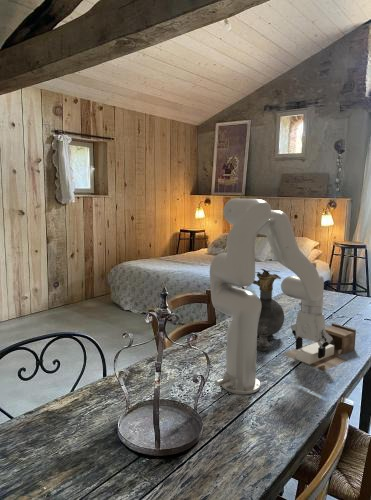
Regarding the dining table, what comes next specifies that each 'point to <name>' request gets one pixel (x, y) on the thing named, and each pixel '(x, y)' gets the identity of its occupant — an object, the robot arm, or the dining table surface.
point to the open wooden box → (341, 342)
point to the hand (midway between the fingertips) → (309, 352)
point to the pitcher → (269, 305)
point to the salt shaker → (263, 339)
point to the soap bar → (313, 353)
